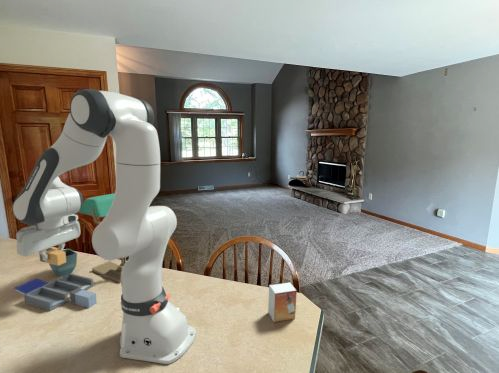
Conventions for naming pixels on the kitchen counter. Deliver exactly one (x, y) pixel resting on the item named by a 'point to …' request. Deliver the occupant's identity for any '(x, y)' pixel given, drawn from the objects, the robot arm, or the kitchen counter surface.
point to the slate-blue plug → (83, 298)
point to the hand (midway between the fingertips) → (53, 257)
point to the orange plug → (54, 256)
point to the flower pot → (69, 265)
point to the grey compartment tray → (57, 291)
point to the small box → (282, 302)
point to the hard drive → (30, 286)
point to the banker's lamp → (99, 209)
